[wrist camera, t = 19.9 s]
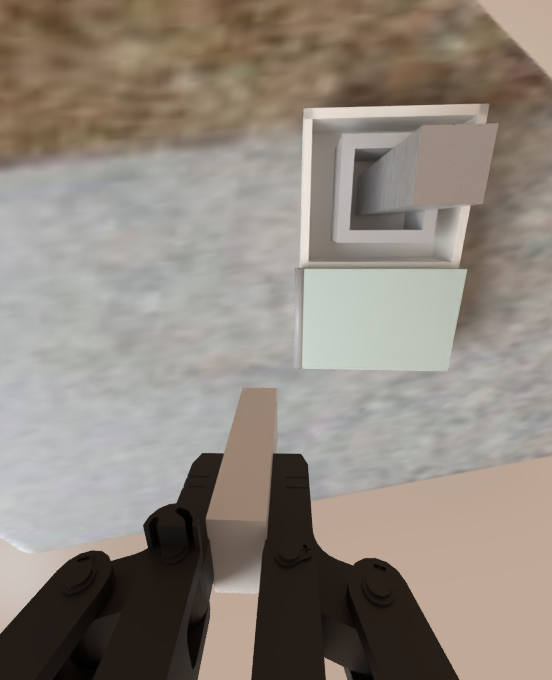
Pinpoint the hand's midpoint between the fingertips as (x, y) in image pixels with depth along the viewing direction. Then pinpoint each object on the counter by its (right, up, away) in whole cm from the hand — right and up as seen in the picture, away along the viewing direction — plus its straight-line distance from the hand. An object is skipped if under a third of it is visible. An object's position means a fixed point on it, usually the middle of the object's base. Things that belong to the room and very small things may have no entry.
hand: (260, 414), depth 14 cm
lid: (+10, +5, +16) cm, 19 cm away
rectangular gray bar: (+10, +17, +16) cm, 25 cm away
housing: (+10, +13, +19) cm, 25 cm away
